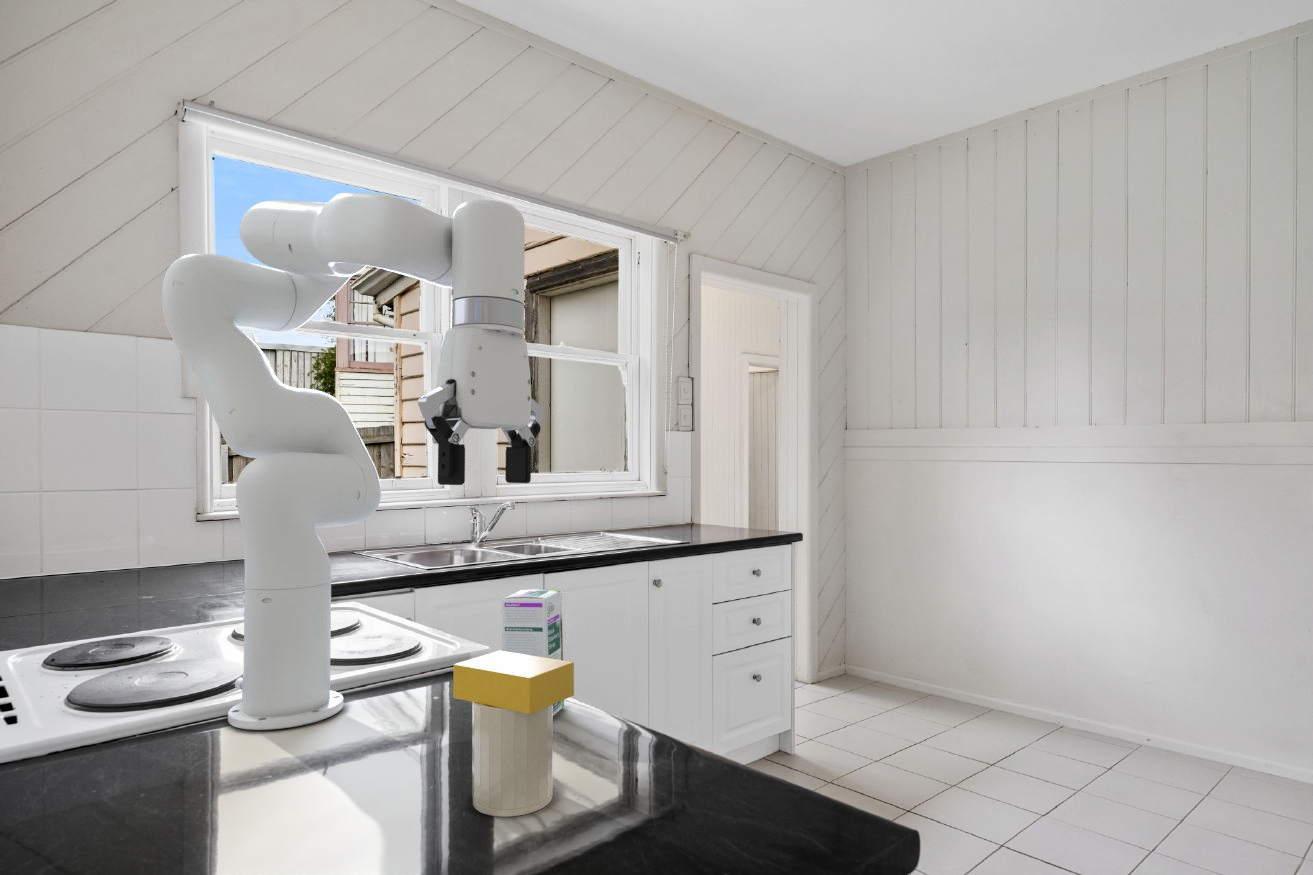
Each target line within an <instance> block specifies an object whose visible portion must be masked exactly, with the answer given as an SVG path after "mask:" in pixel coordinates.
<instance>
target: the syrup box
mask: <svg viewBox="0 0 1313 875" xmlns="http://www.w3.org/2000/svg"><path fill="white" fill-rule="evenodd" d="M562 594H563V593H562V591H561V590H557V589H545V588H531V589H519V590H518V591H517V592H515V593H512V594H510V595H508V596H504V597H502V598H501V600H500V601H501V651H506V652H512V653H518V654H525V655H531V656H537V657H543V658H550V659H556V660H562V661H564V639H563V638H564V636H563V595H562ZM564 707H565V699H564V700H562V701H560V702H557V703H555V704H553V717H554V716H555V715H556V714H557V713H558V712H560V711H561V710H562V709H563V708H564Z"/></svg>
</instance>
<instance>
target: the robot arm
mask: <svg viewBox="0 0 1313 875" xmlns="http://www.w3.org/2000/svg"><path fill="white" fill-rule="evenodd" d="M525 228H526V227H525V219H524V216H523V214H522V213H521V210H520V209H518V208H517V207H516V206H514V205H512V204H510V203H507V202H504V201H500V200H494V199H472V200H467V201H465V202H463V203H461V204H459V205H458V206H457V207H456V208H455V210H454V213H453V216H452V217H450V216H447V215H444V214H441V213H440V212H438V211H435V210H432V209H430V208H428V207H425V206H423V205H421V204H418V203H416V202H413V201H410V200H408V199H405V198H402V197H399V196H395V195H389V194H384V193H383V194H382V193H381V194H380V193H367V192H366V193H365V192H364V193H363V192H341V193H337V195H335V196H333V197H331V199H329V200H328V201H327V202H321V201H320V202H317V201H316V202H315V201H301V200H285V199H284V200H283V199H281V200H279V199H278V200H277V199H275V200H267V201H266V200H265V201H262V202H260V203H257V204H255V205H253V206H251V207H250V208H249V209H247V211H246V212H245V213H244V214H243V216H242V217H241V219H240V224H239V237H240V240H241V242H242V244H243V247H244V248H245V250H246V251H247V252H248V253H249V255H251V256H252V257H253V258H254V259H255V260H257V261H259V262H260V263H261V264H263V265H261V264H257V263H254V262H250V261H246V260H242V259H238V258H235V257H230V256H226V255H220V254H213V253H191V254H187V255H183V256H180V257H179V258H177V259H175V260H174V261H173V262H171V264H170V265H169V267H168V268H167V270H166V271H165V274H164V277H163V281H162V288H161V310H162V316H163V319H164V323H165V326H166V329H167V331H168V334H169V335H170V337H171V339H172V341H173V343H174V345H175V346H176V348H177V350H178V351H179V353H180V354H181V355H182V357H183V358H184V360H185V362H186V363H187V365H188V366H189V367H190V369H191V370H192V372H193V374H194V375H195V377H196V378H195V379H196V380H197V381H198V384H199V386H200V389H201V392H202V394H203V396H204V398H205V401H206V403H207V405H208V407H209V409H210V412H211V413H212V416H213V418H214V420H215V422H216V425H217V427H218V429H219V431H220V433H221V436H222V437H223V439H224V441H225V444H226V445H227V446H228V447H229V449H230V450H231V451H232V452H234V454H237V455H239V456H241V457H245V458H250V459H251V458H252V459H253V460H251V461H250V462H249V463H247V465H246V466H245V467H243V469H242V470H241V471H240V473H239V475H238V477H237V481H236V485H235V501H236V507H237V511H238V512H237V513H238V517H239V522H240V526H241V532H242V540H243V541H242V542H243V558H244V578H243V579H244V583H243V584H244V585H243V586H244V608H243V609H244V610H243V674H242V677H238V678H236V680H235V681H234V687H235V688H236V689H238V690H241V701H240V702H238V703H237V704H235V705H233V706H232V707H231V708H230V709H228V712H227V723H229V725H231V726H232V727H234V728H237V729H241V730H242V729H243V730H250V731H252V730H254V731H268V730H269V731H270V730H281V729H288V728H295V727H300V726H304V725H309V724H313V723H317V722H319V721H320V722H321V721H322V720H325V719H327V718H330V717H332V716H334V715H336V714H337V713H339V712H341V710H342V709H343V708H344V704H345V703H344V701H345V700H344V696H343V695H342V694H341V693H339V692H337V691H335V690H331V649H332V648H331V646H332V645H331V641H332V640H331V639H332V638H331V637H332V636H331V634H332V633H331V631H332V626H331V625H332V567H331V566H332V565H331V561H330V560H331V559H330V556H329V554H328V551H327V549H326V547H325V545H324V543H323V542H322V539H321V538H320V536H319V535H318V533H317V530H318V529H326V528H336V527H337V528H338V527H345V526H346V527H347V526H352V525H357V524H361V523H363V522H365V521H367V520H368V519H370V518H371V517H372V516H373V515H374V514H375V513H376V512H377V510H378V508H379V505H380V503H381V498H382V485H381V481H380V475H379V474H378V470H377V468H376V465H375V463H374V461H373V459H372V457H371V455H370V454H369V451H368V449H367V447H366V445H365V443H364V442H363V440H362V437H361V436H360V433H359V432H358V429H357V427H356V425H355V424H354V421H353V420H352V418H351V415H350V414H349V412H348V411H347V409H346V407H344V405H343V404H342V403H341V402H340V401H339V400H338V399H337V398H335V397H334V396H332V395H331V394H329V393H326V392H325V391H321V390H316V389H310V388H309V389H308V388H301V387H300V388H299V387H292V386H289V385H286V384H284V383H282V382H281V381H280V380H279V379H278V376H276V374H275V372H274V371H273V368H272V366H271V364H270V362H269V360H268V358H267V356H266V354H265V352H263V351H262V349H261V348H260V347H259V346H258V344H256V343H255V342H254V341H253V340H252V339H251V338H250V337H249V336H247V334H245V333H244V332H243V331H242V330H241V329H240V328H238V326H244V327H248V328H254V329H259V330H266V331H271V332H279V333H286V332H291V331H294V330H297V329H299V328H301V327H302V326H303V325H305V324H307V322H308V321H310V320H311V319H312V318H313V316H315V315H316V314H317V313H318V312H319V311H320V310H321V308H323V307H324V306H325V304H327V303H328V302H329V301H330V300H331V299H332V298H333V297H334V296H335V295H336V294H337V293H338V292H339V291H340V290H341V289H342V288H343V287H344V285H346V283H347V282H348V281H349V280H350V279H351V278H352V276H355V275H357V274H359V273H361V272H362V271H363V270H364V269H365V268H366V267H373V268H376V269H377V268H378V269H382V270H385V271H389V272H393V273H396V274H399V275H403V276H407V277H410V278H414V279H417V280H420V281H423V282H426V283H429V284H432V285H436V286H437V287H442V288H448V289H451V297H450V298H451V304H450V305H451V306H450V307H451V308H450V309H451V310H450V312H451V313H450V329H446V330H445V332H444V334H443V338H442V342H441V347H440V352H439V357H438V363H437V372H436V373H437V374H436V381H435V382H436V384H435V389H433V390H432V391H430V392H428V393H426V394H424V395H422V396H421V397H419V398H418V400H417V405H418V407H419V410H420V413H421V416H422V418H423V419H424V422H423V423H424V427H425V429H426V430H427V432H429V434H430V435H431V437H432V438H431V439H432V440H431V441H432V443H433V444H434V445H436V446H437V483H438V485H442V486H462V485H464V484H465V482H466V446H465V445H466V444H464V443H463V444H462V443H461V441H462V439H463V438H464V437H465V435H466V433H467V432H468V430H469V429H475V430H476V429H477V430H497V429H501V430H502V433H503V434H504V436H505V438H506V440H507V441H508V443H509V445H510V446H506V447H505V477H504V478H505V482H506V483H508V484H530V483H531V480H532V478H531V477H532V448H533V447H534V446H535V445H536V438H537V437H538V435H539V434H540V433H541V426H542V423H543V421H544V417H545V415H546V409H545V408H544V407H543V406H542V405H540V404H539V403H538V402H537V401H536V400H535V399H534V398H532V384H531V383H532V380H531V369H530V359H529V351H528V346H527V345H528V344H527V341H526V338H525V332H524V331H525V328H526V326H527V324H526V321H525V248H526V247H525V241H526V240H525V236H526V235H525V234H526V230H525ZM265 265H266V266H265ZM236 325H238V326H236ZM460 443H461V444H460Z"/></svg>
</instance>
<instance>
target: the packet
mask: <svg viewBox="0 0 1313 875" xmlns="http://www.w3.org/2000/svg"><path fill="white" fill-rule="evenodd" d="M452 670H453V672H452V674H453V678H452V679H453V680H452V682H453V683H452V684H453V688H452V689H453V690H452V691H453V694H452V696H453V697H452V698H453V699H457V700H462V701H468V702H475V703H480V704H485V705H490V706H494V707H499V708H504V709H508V710H513V711H518V712H523V713H527V714H531V713H534V712H536V711H538V710H541V709H543V708H545V707H548V706H550V705H553V704H555V703H557V702H560V701H562V700H564V701H565V700H567V699H569V698H571V697H574V695H575V663H574V661H568V660H563V661H562V660H556V659H550V658H543V657H537V656H531V655H525V654H518V653H512V652H506V651H502V650H497V651H494V652H490V653H487V654H483V655H481V656H477V657H474V658H470V659H467V660H464V661H461V662H460V661H459V662H456V663H454V664H453V668H452Z"/></svg>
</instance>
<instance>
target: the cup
mask: <svg viewBox="0 0 1313 875" xmlns="http://www.w3.org/2000/svg"><path fill="white" fill-rule="evenodd" d="M471 705H472V708H471V709H472V711H471V712H472V714H471V718H472V721H471V722H472V723H471V729H472V731H471V732H472V733H471V734H472V735H471V737H472V738H471V742H472V743H471V761H472V762H471V764H472V765H471V796H472V806H473V808H474V809H475V811H477V812H479V813H480V814H484V815H488V816H492V817H501V818H502V817H503V818H504V817H505V818H508V817H518V816H522V815H528V814H531V813H534V812H537V811H540V810H542V809H543V808H545V807H547V805H549V804H550V803H551V801H552V799H553V795H554V794H553V792H554V790H553V789H554V767H553V766H554V754H553V753H554V750H553V749H554V748H553V747H554V746H553V745H554V742H553V741H554V740H553V739H554V738H553V737H554V736H553V734H554V733H553V732H554V729H553V728H554V726H553V724H554V723H553V722H554V720H553V719H554V716H553V705H550V706H548V707H545V708H543V709H541V710H538V711H536V712H534V713H531V714H527V713H523V712H518V711H513V710H508V709H504V708H499V707H494V706H490V705H485V704H480V703H475V702H472V704H471Z"/></svg>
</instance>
